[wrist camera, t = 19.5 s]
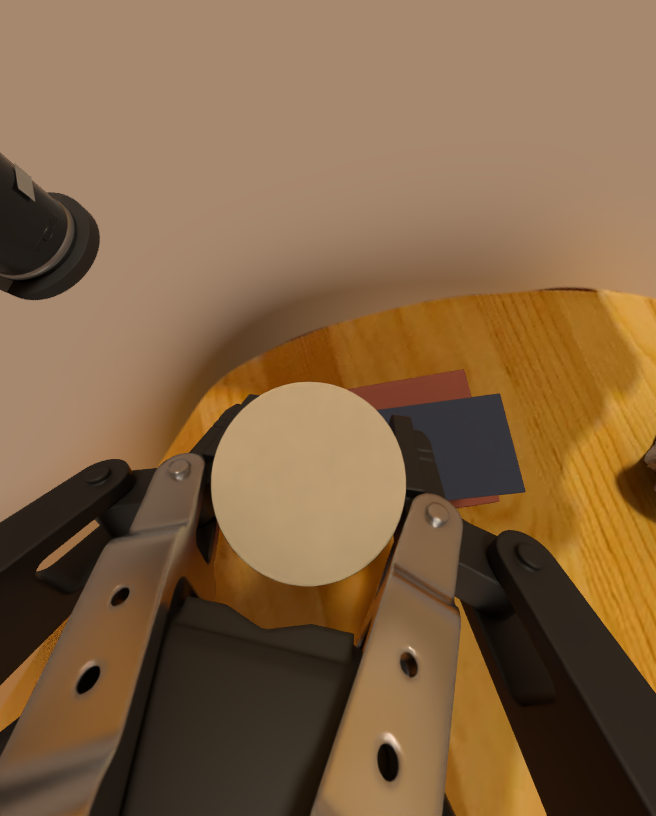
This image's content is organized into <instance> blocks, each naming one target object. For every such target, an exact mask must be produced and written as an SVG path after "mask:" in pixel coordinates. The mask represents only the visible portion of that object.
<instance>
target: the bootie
mask: <svg viewBox="0 0 656 816" xmlns="http://www.w3.org/2000/svg"><path fill="white" fill-rule="evenodd" d="M391 415H399V416H406V417H411V420H412V425H413V430H417V431H423V433H424V434H425V435H426V436H427V438H428V439H429V440H430V442H431V446H432V450H433V454H434V457H435V462H436V464H437V468H438V472H439V475H440V479H441V483H442V486H443V490H444V494H445V497H446V500H447V501H449V500H458V499H467V498H477V497H486V496H495V495H504V494H514V493H523V492H525V488H524V484H523V480H522V476H521V472H520V469H519V465H518V461H517V457H516V453H515V449H514V446H513V442H512V438H511V434H510V430H509V426H508V423H507V419H506V415H505V411H504V407H503V403H502V400H501V396H500V394H492V395H484V396H477V397H469V398H462V399H454V400H447V401H439V402H432V403H424V404H417V405H409V406H402V407H394V408H387V409H379V410H376V409H375V408H374V407H372V406H371V405H370V404H369V403H368V402H366V401H365V400H364V399H362V398H361V397H359V396H357V395H356V394H354V393H352V392H350V391H348V390H346V389H344V388H341V387H338V386H335V385H331V384H326V383H320V382H299V383H292V384H288V385H283V386H281V387H278V388H275V389H272V390H270V391H268V392H266V393H264V394H262V395H261V396H259V397H258V398H256V399H254V400H253V401H252V402H250V403H249V404H248V405H247V406H246V407H245V408H243V409H242V410H241V411H240V413H239V414H238V415H237V416H236V417H235V418H234V419H233V421H232V422H231V424H230V425H229V426H228V428H227V429H226V431H225V433H224V435H223V437H222V438H221V441H220V443H219V446H218V448H217V451H216V454H215V458H214V462H213V467H212V474H211V494H212V503H213V507H214V512H215V515H216V518H217V521H218V524H219V527H220V529H221V531H222V533H223V535H224V537H225V538H226V540H227V541H228V543H229V544H230V546H231V547H232V549H233V550H234V551H235V552H236V553H237V554H238V556H239V557H240V558H241V559H242V560H243V561H244V562H246V563H247V564H248V565H249V566H250V567H251V568H253V569H254V570H256V571H258V572H259V573H261V574H262V575H264V576H266V577H269V578H271V579H273V580H275V581H278V582H282V583H285V584H289V585H296V586H320V585H326V584H331V583H334V582H337V581H340V580H343V579H345V578H347V577H349V576H351V575H353V574H355V573H357V572H358V571H360V570H361V569H363V568H364V567H366V566H367V565H368V564H369V563H370V562H372V561H373V560H374V559H375V558H376V557H377V556H378V555H379V554H380V552H381V551H382V550H383V549H384V548H385V546H386V545H387V544H388V542H389V540H390V539H391V537H392V535H393V534H394V532H395V530H396V527H397V525H398V523H399V521H400V517H401V514H402V510H403V507H404V501H405V494H406V474H405V465H404V461H403V457H402V452H401V450H400V447H399V444H398V442H397V439H396V437H395V436H394V434H393V432H392V430H391V428H390V427H389V425H388V424H389V421H390V417H391Z"/></svg>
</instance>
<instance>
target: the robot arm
mask: <svg viewBox="0 0 656 816" xmlns="http://www.w3.org/2000/svg"><path fill="white" fill-rule="evenodd" d="M14 164H15V163H14ZM14 164H13V163H12V162H11V161H9V160H8V159H7V158H6V157H5V156H4V155H2V154H1V153H0V275H1V276H3V277H5V278H7V279H9V280H12V281H17V282H27V281H33V280H37V279H39V278H42V277H44V276H46V275H48V274H50V273H51V272H53V271H54V270H55V269H57V268H58V267H59V266H60V265H61V264H62V263H63V262H64V261H65V260H66V258H67V257H68V256H69V254H70V253H71V251H72V249H73V247H74V244H75V241H76V236H77V226H76V221H75V219H74V217H73V215H72V214H71V212H70V211H69V210H68V209H67V208H66V207H64V206H63V205H62V204H61V203H60V202H58V201H57V200H56V199H54V198H52V197H51V196H50V195H49V194H48V193H46V192H45V191H44V190H43V189H42V188H41V187H39V186H38V185H37V184H36V183H35V182H34V181H32V179H31V177H30V176H29V175H28V174H27V173H25V172H24V171H23V170H22V169H21V168H19V166H17V165H16V164H15V165H14ZM259 396H260V395H253V394H250V395H248V397H247V398H246V399H245V400H244V402H243V403H242V404H235V405H234V406H232V407H230V408H229V409H227V410H226V411H225V412H224V413H223V414H222V415H221V416H220V418H219V420H217V421H216V422H215V423H214V425H213V427H211V428H210V429H209V430H208V432H207V433H206V434H205V435H204V436H203V437H202V439H201V440H200V441H199V442H198V443H197V444H196V445H195V447H194V448H193V449H192V450H191V451H190V452H189V453H184V454H179V455H176V456H173V457H171V458H169V459H168V460H166V461H165V462H163V463H162V464H161V465H160V466H159V467H158V468H153V469H143V470H133V471H132V470H131V469H130V467H129V465H128V464H127V463H126V462H125V461H123V460H120V459H110V460H105V461H101V462H98V463H96V464H93V465H91V466H89V467H87V468H86V469H84V470H82V471H81V472H79V473H78V474H76V475H74V476H73V477H71V478H70V479H68V480H67V481H65V482H63V483H62V484H60V485H59V486H57V487H56V488H54V489H52V490H51V491H49V492H48V493H46V494H45V495H43V496H41V497H40V498H38V499H37V500H35V501H34V502H32V503H30V504H29V505H27V506H26V507H24V508H23V509H21V510H19V511H18V512H16V513H15V514H13V515H12V516H10V517H9V518H7V519H5V520H4V521H2V522H0V685H1V684H2V683H3V682H4V681H5V680H6V679H7V678H8V677H9V676H10V675H11V674H12V673H13V672H14V671H15V670H16V669H17V668H18V667H19V666H20V665H21V664H22V663H23V662H24V661H25V660H26V659H27V658H28V657H29V656H30V655H31V654H32V653H33V652H34V651H35V650H36V649H37V648H38V647H39V646H40V645H41V644H42V643H43V642H44V641H45V640H46V639H47V638H48V637H49V636H50V635H51V634H52V633H53V632H54V631H55V630H56V629H57V628H58V627H59V626H60V625H61V624H62V623H63V622H64V621H65V620H66V619H67V618H68V617H69V616H70V617H69V619H68V621H67V623H66V625H65V627H64V630H63V632H62V634H61V636H60V638H59V640H58V642H57V644H56V646H55V648H54V650H53V652H52V654H51V656H50V658H49V660H48V662H47V664H46V666H45V668H44V670H43V672H42V674H41V676H40V678H39V680H38V682H37V684H36V686H35V688H34V690H33V692H32V694H31V696H30V698H29V700H28V702H27V704H26V706H25V708H24V710H23V712H22V714H21V716H20V717H19V718H18V719H16V720H15V721H14V722H12V723H11V724H10V725H9V726H7V727H6V728H5V729H3V730H2V731H1V732H0V816H456V815H455V813H454V811H453V809H452V807H451V804H450V802H449V800H448V798H447V796H446V794H445V792H444V790H445V780H446V770H447V760H448V750H449V740H450V730H451V720H452V710H453V700H454V689H455V679H456V669H457V659H458V649H459V639H460V628H461V618H460V611H459V609H458V607H457V606H456V605H455V602H454V596H455V597H457V598H459V599H460V601H461V604H462V606H463V609H464V611H465V614H466V616H467V618H468V621H469V623H470V626H471V628H472V631H473V633H474V636H475V638H476V641H477V643H478V646H479V648H480V651H481V653H482V656H483V658H484V661H485V663H486V666H487V668H488V670H489V673H490V675H491V678H492V680H493V683H494V685H495V688H496V690H497V693H498V695H499V698H500V700H501V703H502V705H503V708H504V710H505V713H506V715H507V718H508V720H509V722H510V725H511V727H512V730H513V732H514V735H515V737H516V740H517V742H518V745H519V747H520V750H521V752H522V755H523V757H524V760H525V762H526V765H527V767H528V769H529V772H530V774H531V777H532V779H533V782H534V784H535V787H536V789H537V792H538V794H539V797H540V799H541V802H542V804H543V807H544V809H545V812H546V814H547V816H656V693H655V692H654V691H653V689H652V688H651V687H650V685H649V684H648V683H647V681H646V680H645V679H644V677H643V676H642V675H641V673H640V672H639V671H638V669H637V668H636V667H635V665H634V664H633V662H632V661H631V660H630V658H629V657H628V656H627V654H626V653H625V652H624V650H623V649H622V648H621V646H620V645H619V644H618V642H617V641H616V640H615V638H614V637H613V636H612V634H611V633H610V632H609V630H608V629H607V628H606V626H605V625H604V624H603V622H602V621H601V620H600V618H599V617H598V616H597V614H596V613H595V612H594V610H593V609H592V608H591V606H590V605H589V604H588V602H587V601H586V600H585V598H584V597H583V596H582V594H581V593H580V592H579V590H578V589H577V588H576V586H575V585H574V584H573V582H572V581H571V579H570V578H569V577H568V575H567V574H566V573H565V571H564V570H563V569H562V567H561V566H560V565H559V563H558V562H557V561H556V559H555V558H554V557H553V556H552V554H551V553H550V552H549V551H548V550H547V549H546V548H545V547H544V546H543V545H542V544H541V543H539V542H538V541H537V540H535V539H534V538H532V537H530V536H529V535H526V534H524V533H522V532H519V531H514V530H507V531H503V532H502V533H500V534H499V535H498V536H496V535H494V534H491V533H489V532H487V531H485V530H483V529H481V528H478V527H476V526H474V525H472V524H470V523H468V522H467V521H465V520H464V519H462V518H461V516H460V514H459V512H458V511H457V509H456V508H455V507H454V506H453V505H452V504H451V503H450V502H449V501H447V500H446V497H445V494H444V490H443V486H442V483H441V479H440V475H439V472H438V468H437V464H436V462H435V457H434V454H433V450H432V446H431V442H430V440H429V439H428V438H427V436H426V435H425V434H424V433H423V431H417V430H413V425H412V420H411V417H406V416H399V415H391V417H390V421H389V424H388V425H389V427H390V428H391V430H392V432H393V434H394V436H395V437H396V439H397V442H398V444H399V447H400V450H401V452H402V457H403V461H404V465H405V474H406V494H405V501H404V507H403V510H402V514H401V517H400V521H399V523H398V525H397V527H396V530H395V532H394V543H393V545H392V547H391V550H390V553H389V556H388V558H387V561H386V564H385V567H384V570H383V573H382V575H381V578H380V581H379V584H378V587H377V589H376V592H375V595H374V598H373V601H372V603H371V606H370V608H369V611H368V613H367V616H366V618H365V621H364V624H363V626H362V629H361V632H360V634H359V637H358V640H357V643H356V646H355V645H354V634H352V633H348V632H343V631H339V630H334V629H330V628H326V627H321V626H317V625H313V624H308V625H300V626H292V627H283V628H275V629H262V628H260V627H259V626H257V625H256V624H254V623H253V622H251V621H250V620H248V619H247V618H245V617H244V616H242V615H241V614H239V613H238V612H236V611H235V610H233V609H232V608H231V607H229V606H228V605H225V604H221V603H216V602H214V600H215V576H214V564H215V557H216V550H217V543H218V536H219V529H220V527H219V524H218V521H217V518H216V515H215V512H214V507H213V503H212V494H211V474H212V467H213V462H214V458H215V454H216V451H217V448H218V446H219V443H220V441H221V438H222V437H223V435H224V433H225V431H226V429H227V428H228V426H229V425H230V424H231V422H232V421H233V419H234V418H235V417H236V416H237V415H238V414H239V413H240V411H241V410H242V409H243V408H245V407H246V406H247V405H248V404H249V403H250V402H252V401H253V400H254V399H256V398H258V397H259ZM94 519H95V520H96V521H97V523H98V524H99V525H100V526H99V527H98V528H96V529H95V530H94V531H93V532H92V533H90V534H89V535H88V536H87V537H86V538H84V539H83V540H82V541H81V542H80V543H78V544H77V545H76V546H75V547H73V548H72V549H71V550H70V551H69V552H67V553H66V554H65V555H64V556H63V557H61V558H60V559H59V560H58V561H57V562H55V563H54V564H53V565H51V566H50V567H48V568H47V569H44V570H41V571H38V572H36V570H37V568H38V566H39V564H40V563H41V562H42V561H43V560H44V559H45V558H47V557H48V555H50V554H51V553H53V552H54V551H55V550H56V549H58V548H59V547H60V546H61V545H63V544H64V543H65V542H66V541H68V540H69V539H70V538H71V537H73V536H74V535H75V534H76V533H78V532H79V531H80V530H81V529H83V528H84V527H85V526H86V525H88V524H89V523H90V522H91V521H93V520H94Z"/></svg>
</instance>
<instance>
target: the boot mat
mask: <svg viewBox="0 0 656 816" xmlns="http://www.w3.org/2000/svg"><path fill="white" fill-rule="evenodd" d="M347 390H348V391H350V392H352V393H354V394H356V395H357V396H359V397H361V398H362V399H364V400H365V401H366V402H368V403H369V404H370V405H371V406H372V407H374V408H375V409H376V410H379V409H387V408H394V407H402V406H409V405H417V404H424V403H432V402H439V401H447V400H454V399H462V398H469V397H471V393H470V390H469V386H468V382H467V379H466V375H465V371H464V369H463V370H457V371H451V372H445V373H440V374H434V375H428V376H422V377H416V378H411V379H405V380H399V381H393V382H387V383H382V384H376V385H370V386H364V387H358V388H352V389H347ZM499 501H500V500H499V497H498V495H495V496H486V497H477V498H467V499H458V500H449V502H450V503H451V504H452V505H453V506H454V507H455V508H460V507H466V506H473V505H480V504H486V503H493V502H499Z"/></svg>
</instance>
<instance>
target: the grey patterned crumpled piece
mask: <svg viewBox="0 0 656 816" xmlns="http://www.w3.org/2000/svg"><path fill="white" fill-rule="evenodd" d="M644 460H645V462H646V464H649V465H647V467H650V468H652V469H653V470H654V471H655V472H656V443H655V445H654V446H653V447H652V448H651V450H649V451H648V452H647V454H646V456H645V459H644ZM654 490H655V492H656V484H655V486H654Z"/></svg>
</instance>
